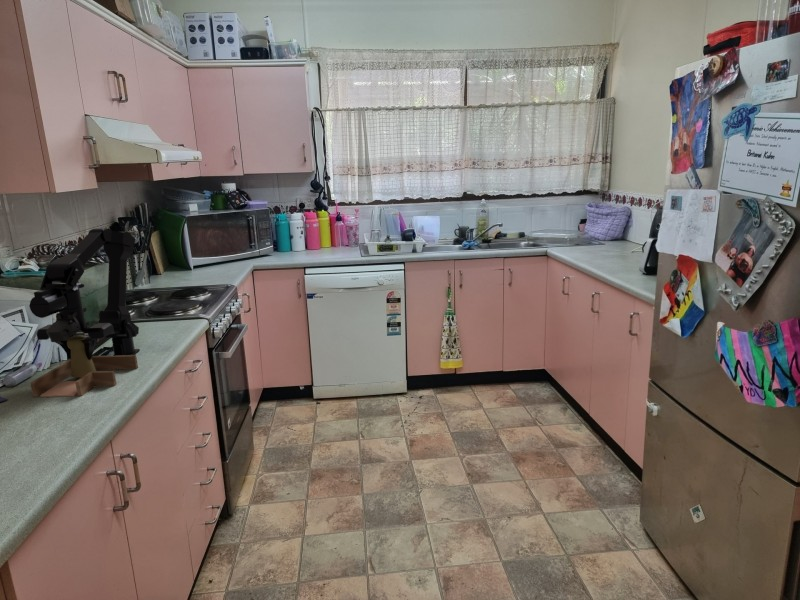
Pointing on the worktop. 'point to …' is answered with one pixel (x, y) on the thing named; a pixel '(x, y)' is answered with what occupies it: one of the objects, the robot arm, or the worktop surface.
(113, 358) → the bent channel
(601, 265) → the worktop surface
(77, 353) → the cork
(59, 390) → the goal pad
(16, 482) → the worktop surface
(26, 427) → the worktop surface
